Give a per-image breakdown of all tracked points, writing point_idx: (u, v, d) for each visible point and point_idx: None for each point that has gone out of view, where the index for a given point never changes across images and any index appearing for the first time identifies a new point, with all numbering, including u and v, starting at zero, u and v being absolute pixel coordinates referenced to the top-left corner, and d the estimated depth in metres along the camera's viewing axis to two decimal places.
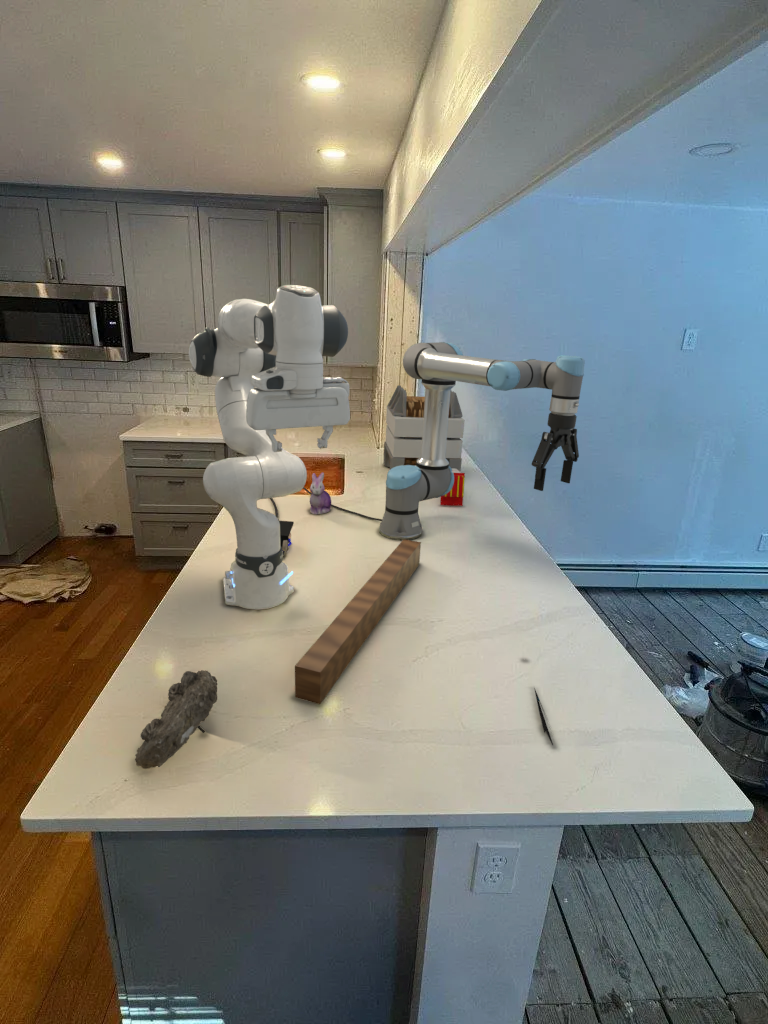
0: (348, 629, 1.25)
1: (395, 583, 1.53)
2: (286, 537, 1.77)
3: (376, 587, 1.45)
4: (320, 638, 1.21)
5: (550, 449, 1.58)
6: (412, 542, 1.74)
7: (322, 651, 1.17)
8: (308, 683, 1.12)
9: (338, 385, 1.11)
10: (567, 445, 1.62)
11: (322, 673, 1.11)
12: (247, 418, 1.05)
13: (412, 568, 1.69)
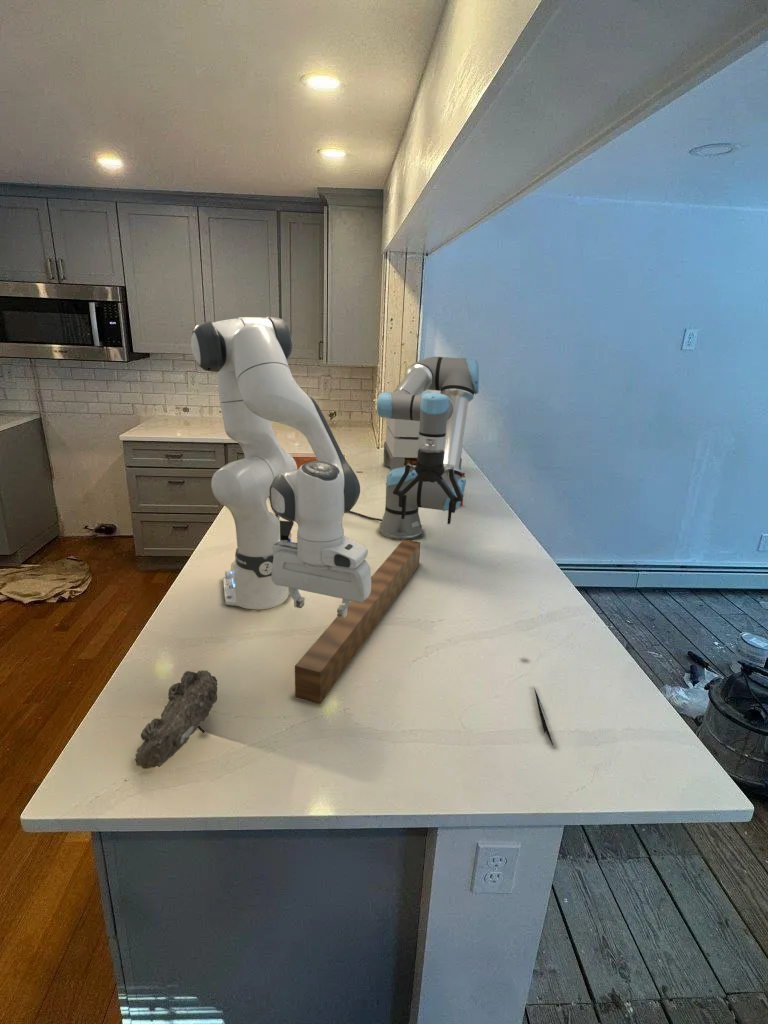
0: (348, 629, 1.25)
1: (395, 583, 1.53)
2: (286, 537, 1.77)
3: (376, 587, 1.45)
4: (320, 638, 1.21)
5: (412, 481, 1.63)
6: (412, 542, 1.74)
7: (322, 651, 1.17)
8: (308, 683, 1.12)
9: None
10: None
11: (322, 673, 1.11)
12: (366, 593, 1.07)
13: (412, 568, 1.69)
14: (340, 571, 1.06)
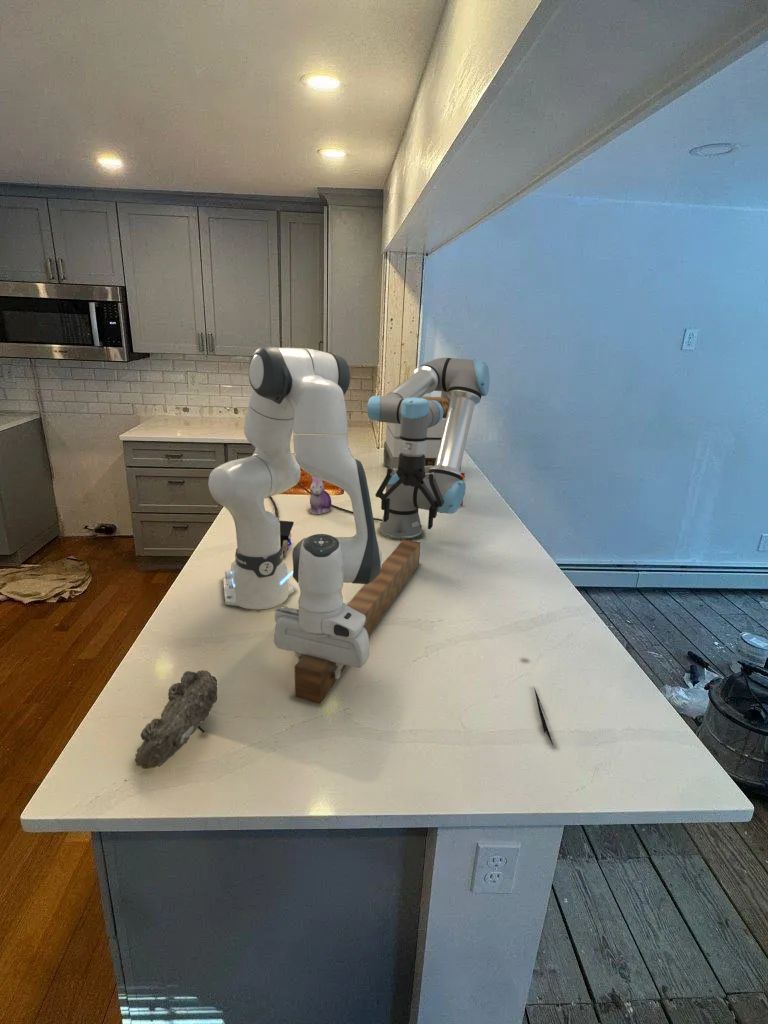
0: None
1: (395, 583, 1.53)
2: (286, 537, 1.77)
3: (376, 587, 1.45)
4: None
5: (393, 484, 1.64)
6: (412, 542, 1.74)
7: None
8: (308, 683, 1.12)
9: None
10: None
11: (322, 673, 1.11)
12: (365, 659, 1.12)
13: (412, 568, 1.69)
14: (339, 639, 1.11)
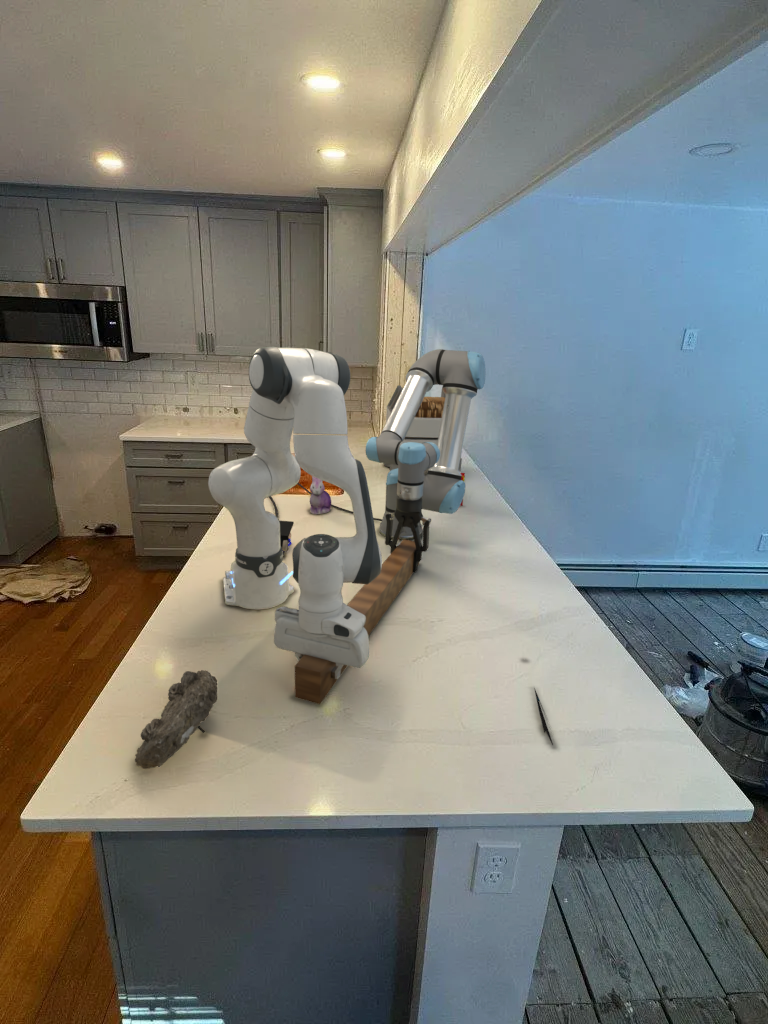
0: None
1: (395, 583, 1.53)
2: (286, 537, 1.77)
3: (376, 587, 1.45)
4: None
5: (396, 530, 1.68)
6: (412, 542, 1.74)
7: None
8: (308, 683, 1.12)
9: None
10: None
11: (322, 673, 1.11)
12: (364, 659, 1.12)
13: (412, 568, 1.69)
14: (339, 639, 1.11)
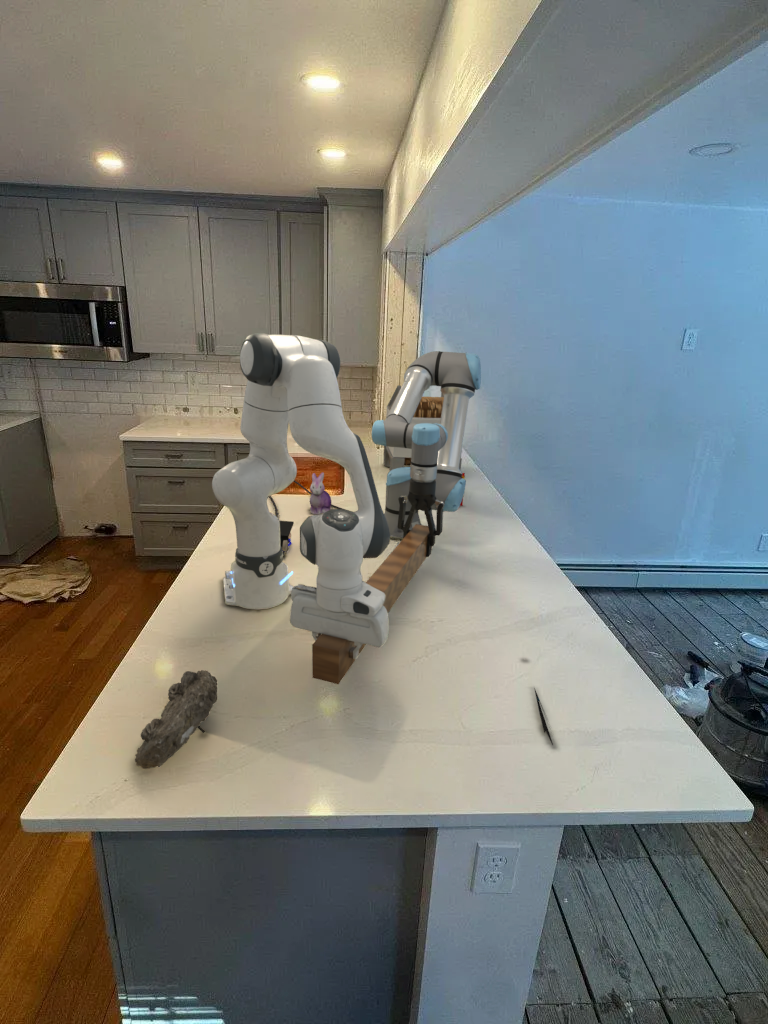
0: None
1: (409, 566, 1.50)
2: (286, 537, 1.77)
3: (391, 569, 1.42)
4: None
5: (409, 513, 1.65)
6: (425, 526, 1.71)
7: None
8: (326, 663, 1.09)
9: None
10: None
11: (340, 652, 1.08)
12: (384, 638, 1.09)
13: (425, 553, 1.66)
14: (359, 617, 1.08)
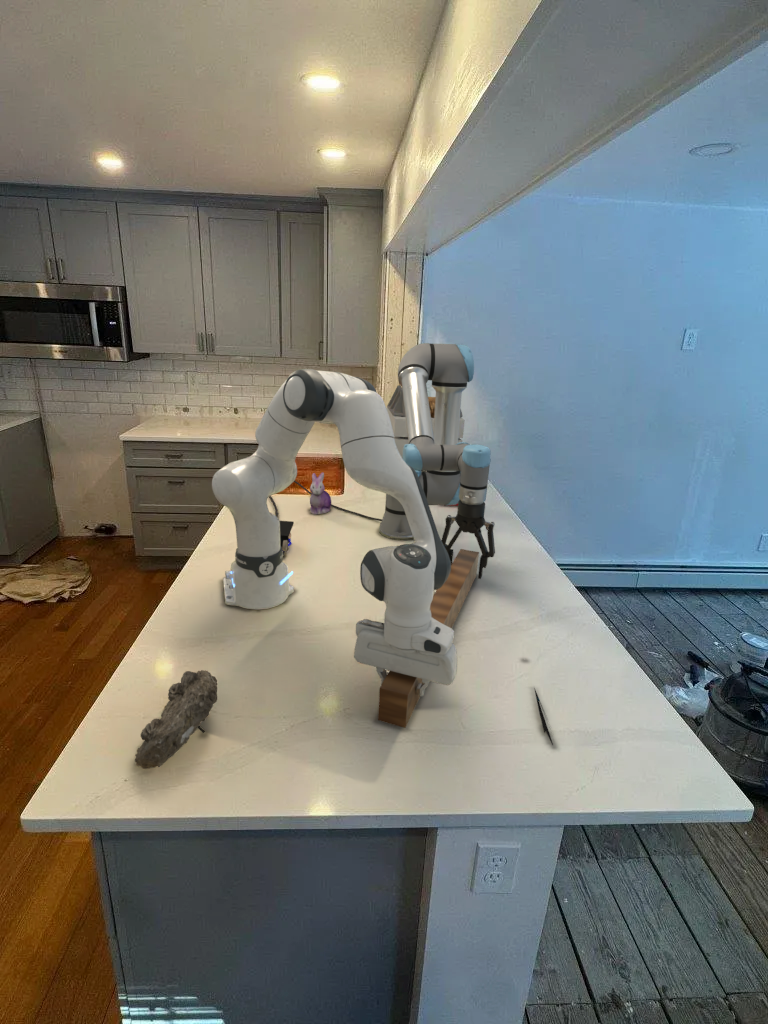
0: None
1: (460, 596, 1.48)
2: (286, 537, 1.77)
3: (444, 601, 1.39)
4: None
5: None
6: (470, 552, 1.68)
7: None
8: (393, 706, 1.07)
9: None
10: None
11: (409, 696, 1.06)
12: (454, 676, 1.07)
13: (472, 579, 1.64)
14: (429, 655, 1.05)
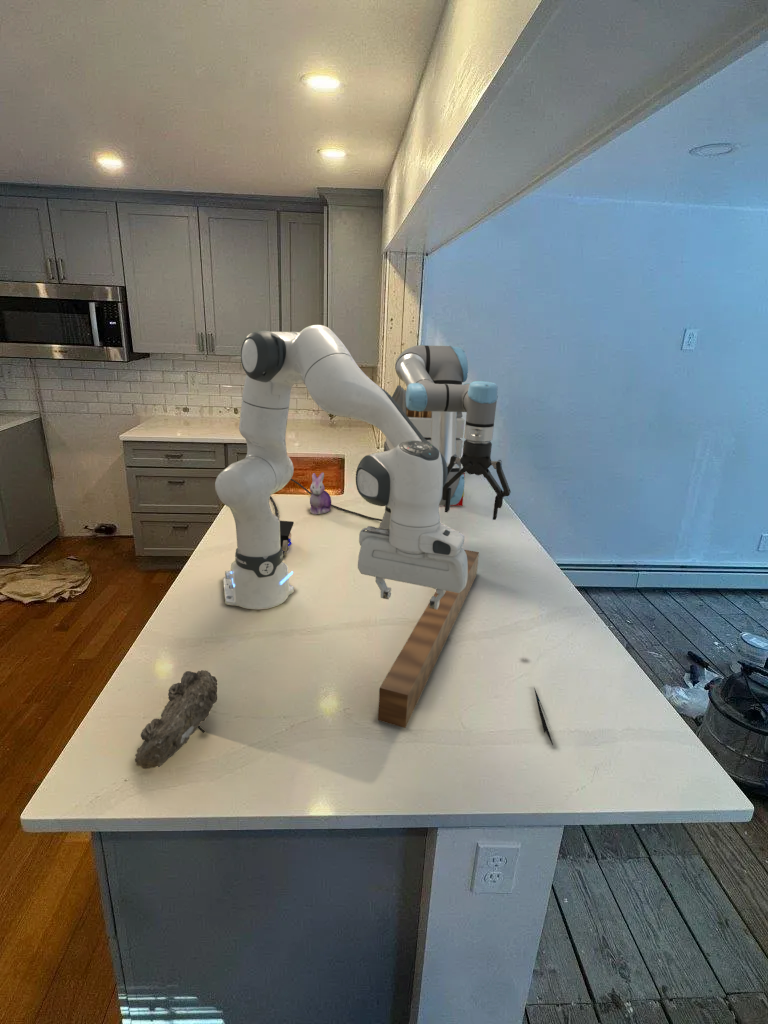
0: (426, 647, 1.20)
1: (460, 596, 1.48)
2: (286, 537, 1.77)
3: (444, 601, 1.39)
4: (399, 657, 1.16)
5: (457, 473, 1.56)
6: (470, 552, 1.68)
7: (404, 671, 1.12)
8: (393, 706, 1.07)
9: None
10: None
11: (408, 696, 1.06)
12: (464, 582, 1.00)
13: (472, 579, 1.64)
14: (437, 559, 0.98)
